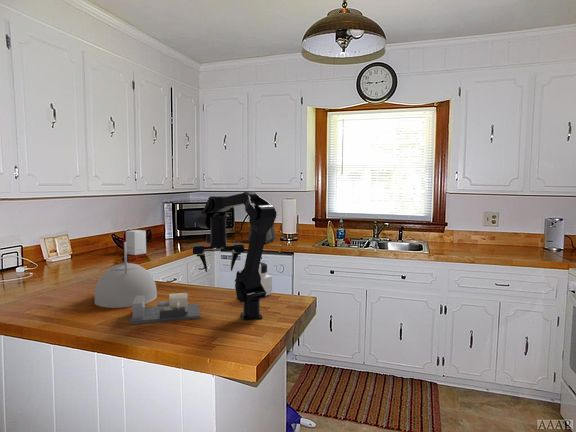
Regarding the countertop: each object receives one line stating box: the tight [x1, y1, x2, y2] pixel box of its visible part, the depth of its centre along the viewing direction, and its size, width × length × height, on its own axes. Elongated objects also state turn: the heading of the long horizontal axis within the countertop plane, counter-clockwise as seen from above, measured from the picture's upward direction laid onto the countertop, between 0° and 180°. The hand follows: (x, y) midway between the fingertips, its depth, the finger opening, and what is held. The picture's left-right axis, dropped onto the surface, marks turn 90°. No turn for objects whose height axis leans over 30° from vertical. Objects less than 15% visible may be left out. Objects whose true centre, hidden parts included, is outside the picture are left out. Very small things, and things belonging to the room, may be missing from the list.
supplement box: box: [125, 229, 147, 256], centre depth 249 cm, size 9×9×15 cm
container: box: [247, 261, 273, 297], centre depth 159 cm, size 8×8×13 cm
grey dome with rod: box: [93, 241, 158, 309], centre depth 152 cm, size 25×23×22 cm
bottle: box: [247, 204, 277, 244], centre depth 301 cm, size 18×16×30 cm
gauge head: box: [156, 292, 189, 312], centre depth 133 cm, size 10×10×5 cm
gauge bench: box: [129, 295, 201, 325], centre depth 134 cm, size 14×22×6 cm, turn 106°
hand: (219, 271), depth 145 cm, fingers open, 9 cm apart
